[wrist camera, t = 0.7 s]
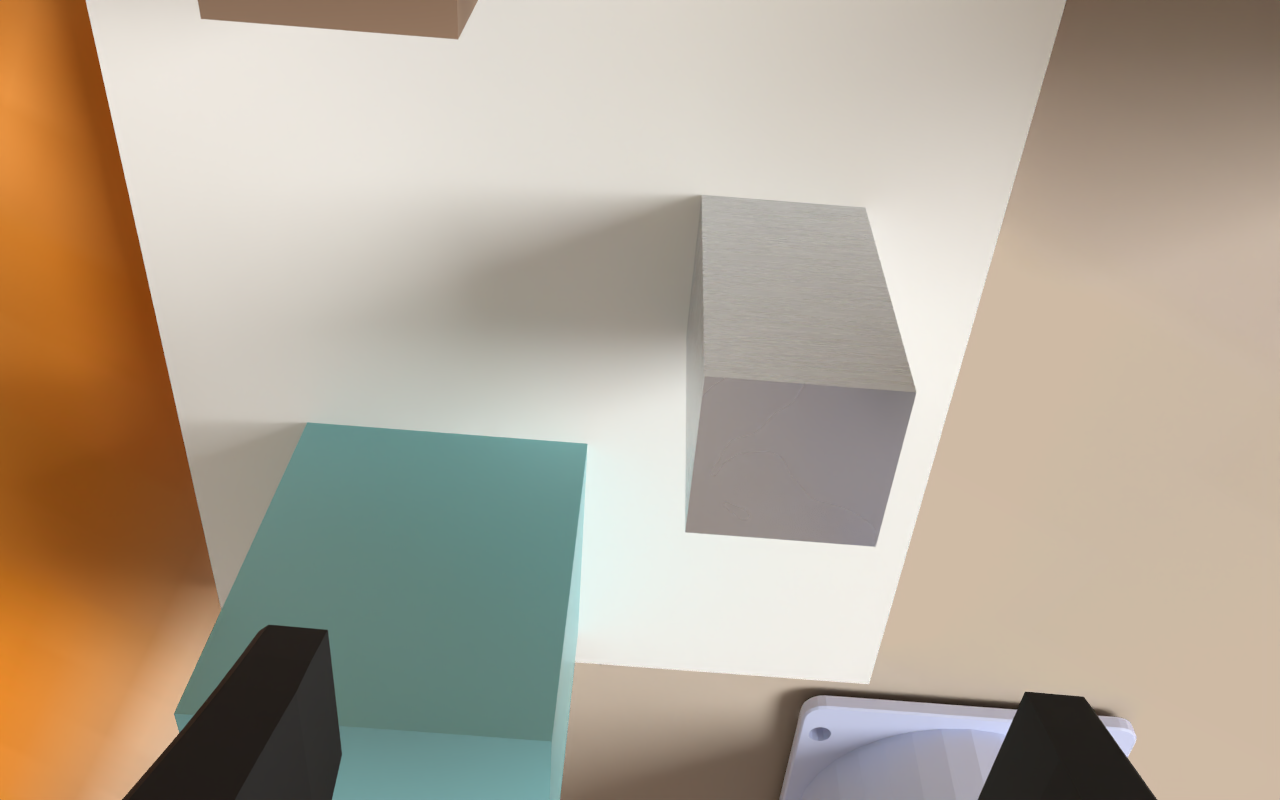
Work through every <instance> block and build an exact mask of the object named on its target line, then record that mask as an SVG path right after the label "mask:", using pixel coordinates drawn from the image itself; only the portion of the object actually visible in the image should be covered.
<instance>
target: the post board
mask: <svg viewBox="0 0 1280 800" xmlns="http://www.w3.org/2000/svg"><path fill="white" fill-rule="evenodd" d="M86 4H87V9H88V13H89V18H90V22H91V27H92V31H93V36H94V40H95V45H96V49H97V54H98V58H99V63H100V67H101V72H102V76H103V81H104V85H105V90H106V94H107V99H108V103H109V108H110V112H111V117H112V121H113V126H114V130H115V135H116V139H117V144H118V148H119V153H120V157H121V162H122V166H123V171H124V175H125V180H126V184H127V189H128V193H129V198H130V202H131V207H132V211H133V216H134V220H135V225H136V229H137V234H138V238H139V243H140V247H141V252H142V256H143V261H144V265H145V270H146V274H147V279H148V283H149V288H150V292H151V297H152V301H153V306H154V310H155V314H156V319H157V323H158V328H159V332H160V337H161V341H162V346H163V350H164V355H165V359H166V364H167V368H168V373H169V377H170V382H171V386H172V391H173V395H174V400H175V404H176V409H177V413H178V418H179V422H180V427H181V431H182V436H183V440H184V445H185V449H186V454H187V458H188V463H189V467H190V472H191V476H192V481H193V485H194V490H195V494H196V499H197V503H198V508H199V512H200V517H201V521H202V526H203V530H204V535H205V539H206V544H207V548H208V553H209V557H210V562H211V566H212V571H213V575H214V580H215V584H216V589H217V593H218V598H219V602H220V607H221V610H222V608H223V605H224V603H225V601H226V599H227V597H228V595H229V592H230V590H231V588H232V586H233V584H234V581H235V579H236V577H237V575H238V573H239V570H240V568H241V566H242V564H243V562H244V560H245V557H246V555H247V553H248V551H249V549H250V546H251V544H252V542H253V540H254V538H255V535H256V533H257V531H258V529H259V527H260V524H261V522H262V520H263V518H264V516H265V514H266V511H267V509H268V507H269V505H270V503H271V500H272V498H273V496H274V494H275V492H276V489H277V487H278V485H279V483H280V481H281V479H282V476H283V474H284V472H285V470H286V468H287V465H288V463H289V461H290V459H291V457H292V454H293V452H294V450H295V448H296V446H297V444H298V441H299V439H300V437H301V435H302V433H303V430H304V428H305V426H306V424H307V422H310V423H323V424H336V425H349V426H362V427H375V428H388V429H401V430H414V431H428V432H441V433H454V434H467V435H480V436H493V437H506V438H519V439H532V440H546V441H559V442H572V443H585V444H588V446H587V465H586V485H585V504H584V524H583V543H582V563H581V582H580V602H579V622H578V638H577V647H576V656H575V662H579V663H592V664H606V665H619V666H633V667H646V668H660V669H673V670H687V671H700V672H713V673H727V674H740V675H754V676H767V677H781V678H794V679H808V680H821V681H835V682H848V683H861V684H869V682H870V679H871V675H872V672H873V668H874V665H875V661H876V658H877V654H878V651H879V647H880V644H881V640H882V637H883V634H884V630H885V627H886V623H887V620H888V616H889V613H890V609H891V606H892V602H893V599H894V595H895V592H896V589H897V585H898V582H899V578H900V575H901V571H902V568H903V564H904V561H905V557H906V554H907V550H908V547H909V544H910V540H911V537H912V533H913V530H914V526H915V523H916V519H917V516H918V512H919V509H920V505H921V502H922V499H923V495H924V492H925V488H926V485H927V481H928V478H929V474H930V471H931V467H932V464H933V460H934V457H935V454H936V450H937V447H938V443H939V440H940V436H941V433H942V429H943V426H944V422H945V419H946V416H947V412H948V409H949V405H950V402H951V398H952V395H953V391H954V388H955V384H956V381H957V377H958V374H959V371H960V367H961V364H962V360H963V357H964V353H965V350H966V346H967V343H968V339H969V336H970V332H971V329H972V326H973V322H974V319H975V315H976V312H977V308H978V305H979V301H980V298H981V294H982V291H983V287H984V284H985V281H986V277H987V274H988V270H989V267H990V263H991V260H992V256H993V253H994V249H995V246H996V242H997V239H998V236H999V232H1000V229H1001V225H1002V222H1003V218H1004V215H1005V211H1006V208H1007V204H1008V201H1009V198H1010V194H1011V191H1012V187H1013V184H1014V180H1015V177H1016V173H1017V170H1018V166H1019V163H1020V159H1021V156H1022V153H1023V149H1024V146H1025V142H1026V139H1027V135H1028V132H1029V128H1030V125H1031V121H1032V118H1033V114H1034V111H1035V108H1036V104H1037V101H1038V97H1039V94H1040V90H1041V87H1042V83H1043V80H1044V76H1045V73H1046V69H1047V66H1048V63H1049V59H1050V56H1051V52H1052V49H1053V45H1054V42H1055V38H1056V35H1057V31H1058V28H1059V24H1060V21H1061V18H1062V14H1063V11H1064V7H1065V4H1066V0H478V1H477V3H476V5H475V7H474V9H473V11H472V13H471V15H470V17H469V19H468V21H467V23H466V25H465V27H464V29H463V31H462V33H461V35H460V37H459V39H447V38H434V37H422V36H409V35H396V34H384V33H371V32H359V31H346V30H334V29H321V28H309V27H296V26H284V25H271V24H259V23H246V22H234V21H221V20H209V19H201V17H200V11H199V5H198V0H86ZM702 195H711V196H724V197H737V198H749V199H762V200H775V201H788V202H800V203H813V204H826V205H838V206H851V207H864V208H866V212H867V215H868V219H869V223H870V226H871V230H872V233H873V237H874V241H875V244H876V248H877V252H878V255H879V259H880V262H881V266H882V270H883V273H884V277H885V280H886V284H887V288H888V291H889V295H890V298H891V302H892V306H893V309H894V313H895V316H896V320H897V324H898V327H899V331H900V334H901V338H902V342H903V345H904V349H905V353H906V356H907V360H908V363H909V367H910V371H911V374H912V378H913V381H914V385H915V389H916V392H917V393H916V396H915V400H914V404H913V408H912V412H911V415H910V419H909V423H908V427H907V430H906V434H905V438H904V442H903V445H902V449H901V453H900V457H899V461H898V464H897V468H896V472H895V476H894V479H893V483H892V487H891V491H890V495H889V498H888V502H887V506H886V510H885V513H884V517H883V521H882V525H881V528H880V532H879V536H878V540H877V544H876V547H872V546H859V545H846V544H833V543H819V542H806V541H793V540H780V539H766V538H753V537H740V536H727V535H713V534H700V533H687V532H685V481H686V334H687V324H688V315H689V306H690V296H691V287H692V278H693V269H694V260H695V251H696V242H697V233H698V224H699V215H700V205H701V196H702Z"/></svg>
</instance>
